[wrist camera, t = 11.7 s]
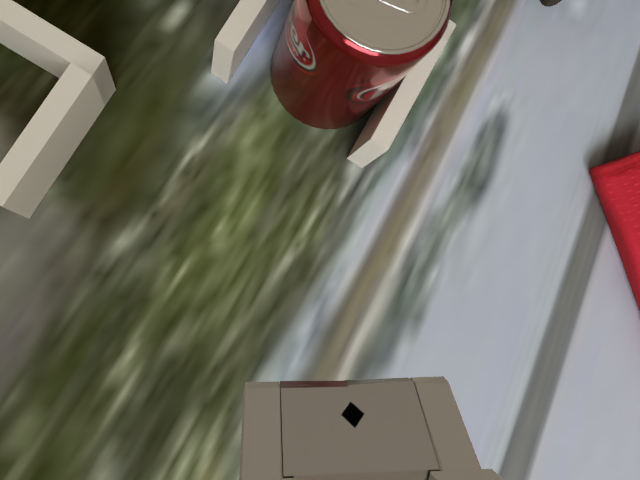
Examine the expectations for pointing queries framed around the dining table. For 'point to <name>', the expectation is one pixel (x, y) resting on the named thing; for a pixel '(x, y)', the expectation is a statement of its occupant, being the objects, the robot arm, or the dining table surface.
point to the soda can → (350, 54)
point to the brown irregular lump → (549, 2)
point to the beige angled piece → (388, 111)
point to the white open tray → (49, 106)
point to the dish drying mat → (622, 210)
